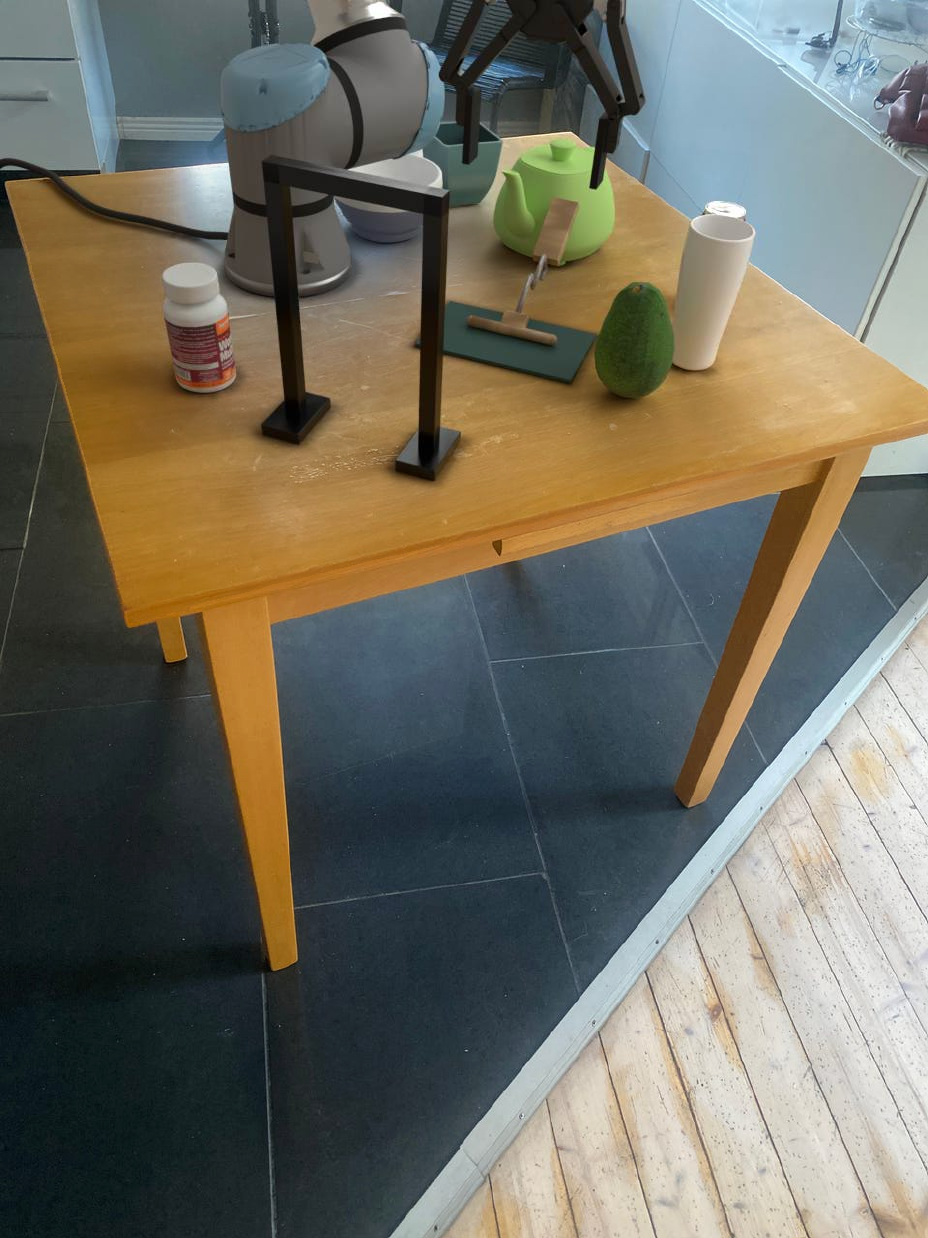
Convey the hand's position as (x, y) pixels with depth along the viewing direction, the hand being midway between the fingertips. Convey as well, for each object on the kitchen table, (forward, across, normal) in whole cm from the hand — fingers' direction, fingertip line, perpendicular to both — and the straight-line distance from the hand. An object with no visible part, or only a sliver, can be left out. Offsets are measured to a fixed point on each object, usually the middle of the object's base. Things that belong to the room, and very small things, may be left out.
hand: (531, 172), depth 97 cm
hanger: (+18, 0, -2) cm, 19 cm away
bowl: (+18, -24, +18) cm, 34 cm away
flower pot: (+18, -19, +32) cm, 41 cm away
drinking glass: (+17, +20, +2) cm, 27 cm away
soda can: (+18, +19, +14) cm, 30 cm away
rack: (+17, -7, -28) cm, 33 cm away
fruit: (+18, +15, -8) cm, 25 cm away
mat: (+17, 0, -4) cm, 18 cm away
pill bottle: (+18, -26, -24) cm, 40 cm away
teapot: (+18, -3, +22) cm, 28 cm away
